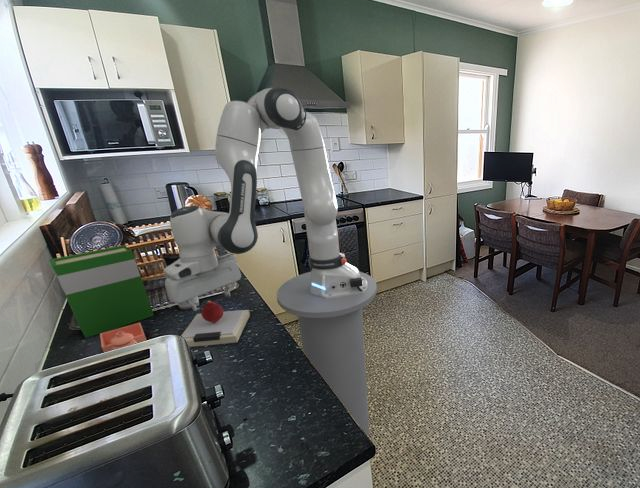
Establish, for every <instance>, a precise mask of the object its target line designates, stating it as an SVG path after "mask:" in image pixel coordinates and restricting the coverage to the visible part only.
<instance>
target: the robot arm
mask: <svg viewBox="0 0 640 488" xmlns="http://www.w3.org/2000/svg"><path fill="white" fill-rule="evenodd" d="M266 129H267V130H268V129H269V130H270V129H271V130H280V129H281V130H282V131H283V132H284V133H285V135H286V137H287V139H288V144H289V149H290V154H291V157H292V161H293V162H292V163H293V166H294V170H295V171H294V172H295V175H296V179H297V183H298V187H299V192H300V196H301V201H302V205H303V214H304V221H305V229H306V236H307V245H308V252H309V255H308V266H309V270H310V272H311V284H310V289H309V290H310V292H311V293H312V294H314V295H317V296H321V297H322V298H324V299H331V298H337V297H343V296H349V295H355V294H361V293H364V292H365V291H366V290H367V281H366V279H365V278H363V277H361V275H360V272H361V271H360V270H359V269H358V268H357V267H356V266H354V265H352V264H350V263H348V262H347V261H348V260H347V258H346V255H345V252H342V253H341V252H340V241H339V240H340V239H339V231H338V226H337V225H338V224H337V220H336V219H337V215H338V212H339V211H338V210H339V207H338V202H337V198H336V193H335V189H334V184H333V180H332V175H331V172H330V166H329V162H328V157H327V151H326V145H325V142H324V137H323V133H322V130H321V128H320V124H319V121H318V120H317V117H316V116H315V115H314V114H313V113H311V112H308V111H306V109H305V107H304V106H303V104H302V102H301V99H300V98H299V96H298V95H297V94H296V93H294V91H292V90H290V89H288V88H285V87H282V86H277V87H268V88H264V89H262V90H260V91H257V92H254V93H252V95H250V96H249V97H248V98H247V100H246V101H243V100H231V101H228V102H226V104H225V105H224V108H223V110H222V111H221V116H220V119H219V122H218V126H217V130H216V138H215V146H214V147H215V148H214V149H215V159H216V162H217V163H218V164H219V166H220V167H221V168H222V170H223V171H224V172H225V174H226V175H227V177H228V179H229V182H230V199H229V212H224V211H215V210H210V209H206V208H203V207H201V206H199V205H186V206H183V207H180V208H178V209H175V211H173V212H172V213H171V215H170V217H169V224H170V229H171V233H172V236H173V240H174V243H175V244H176V246H177V248H178V250H179V251H178V254H179V256H180V259H178V260H177V261H175V262H174V263H172V264H171V265H169V266H168V267H166V266H165V268H163V273H164V275H165V276H166V278H165V280H164V286H165V292H166V295H167V298H168V300H169V301H170V302H172V303H173V304H177V305H178V304H179V303H182V302H184V301H186V302H187V303H188V304H190V305H191V307H192V308H191V309H192V311H194V312H197V311H199V310H201V306H200V303H199V304H197V303H192V301H193V298H194V297H197V296H198V297H200V296H201V295H204V294H208V293H209V292H212V291H214V290H217V289H220V288H222V287H224V291H222V292H221V294H222V297H223V298H225V299H228V298H230V297H231V290H232V287H233V284H232V283H236V282H237V281H240V280H241V278H242V273H241V270H240V268H239V265H238V259H237V257H236V255H240V254H245V253H248V252H250V251H251V250H252V249H253V248H254V247H255V246H256V244H257V242H258V239H259V238H258V237H259V233H258V228H257V225H256V218H255V217H256V216H255V214H256V201H257V189H258V188H257V187H258V158H259V152H260V147H261V146H260V145H261V137H262V135H263V132H264V131H265V130H266ZM219 246H220V247H222V248H223V249H224V250H225V251H227V252H228V253H225V254H222V255H218V256H217V254H216V250H215V249H216V247H219Z"/></svg>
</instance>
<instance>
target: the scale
mask: <svg viewBox="0 0 640 488" xmlns="http://www.w3.org/2000/svg"><path fill="white" fill-rule="evenodd" d="M250 316H251V313H250V310H249V309H240V310H239V309H238V310H226V311H223V316H222V318H221V319H220V320H218V321H217V322H216V323H212V322H209V321H206V320H205V319H204V318H203V317H202V314H201V313H196V315H195V316H194V318H193V319H192V321H191V322H190V323H189V325H187V327H186V328H185V330H184V331H183V332H182V334H181V335H180V337H181V336H182V337H183V338H184V339H185V340H186V342H187V344H188V346H189V347H188V348H194V347H204V346H214V345H225V344H235V343H238V341H239V340H240V338H241V336H242V333H243V331H244V330H245V327H246V325H247V323H248V320H249V319H250Z"/></svg>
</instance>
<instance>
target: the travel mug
mask: <svg viewBox="0 0 640 488" xmlns="http://www.w3.org/2000/svg"><path fill="white" fill-rule="evenodd" d="M162 259H163V260H164V264H165V268H166V267H168V266H169V265H171V264H172V263H174V262H175V261H177V260H178V259H180V256H179V253H169V254H166V255H164V256H162ZM192 303H197V304H199V305H200V301H199V296H197V297H194V298H193V301H192ZM177 306H178V308H179V310H183V311H184V310H191V309H192V307H191V305H190V304H188V303H187V302H186V301H184V302H182V303H179V304H177Z"/></svg>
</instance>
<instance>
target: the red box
mask: <svg viewBox="0 0 640 488" xmlns="http://www.w3.org/2000/svg"><path fill="white" fill-rule="evenodd" d="M99 339H100V345H101V350H102V352H103V353H104V352H107V351H110V350H114V349H118V348H121V347H125V346H128V345H132V344H135V343H138V342H141V341H145V340H147V337H146V333H145V332H144V329H143V326H142V323H141V321H138V322H135V323H131V324H128V325H124V326H121V327H118V328H115V329H112V330H109V331H106V332H103V333H100V334H99Z"/></svg>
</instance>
